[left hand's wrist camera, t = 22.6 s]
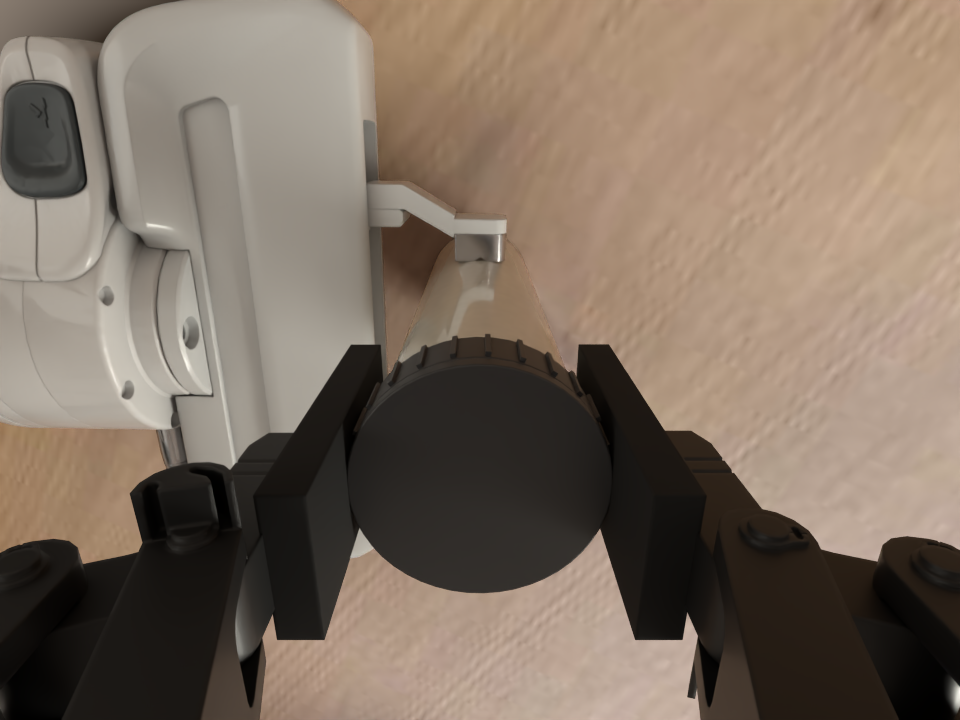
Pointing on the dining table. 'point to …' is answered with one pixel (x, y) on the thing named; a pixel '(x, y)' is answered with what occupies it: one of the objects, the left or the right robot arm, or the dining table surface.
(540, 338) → the beige bottle
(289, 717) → the dining table surface
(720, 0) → the dining table surface
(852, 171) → the dining table surface
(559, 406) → the lid
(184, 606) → the left robot arm
